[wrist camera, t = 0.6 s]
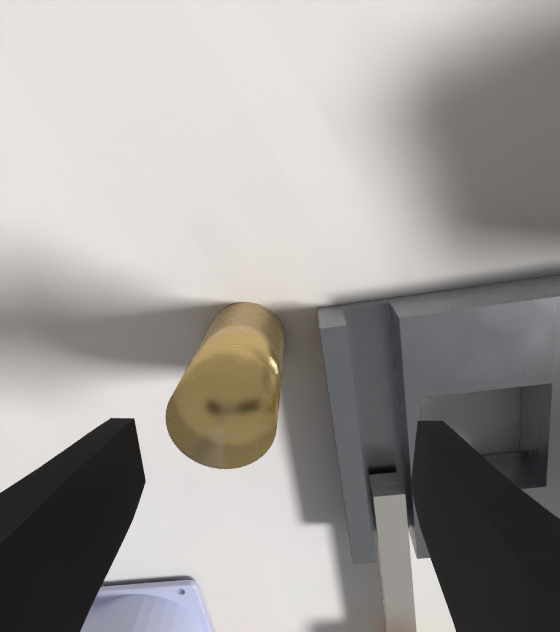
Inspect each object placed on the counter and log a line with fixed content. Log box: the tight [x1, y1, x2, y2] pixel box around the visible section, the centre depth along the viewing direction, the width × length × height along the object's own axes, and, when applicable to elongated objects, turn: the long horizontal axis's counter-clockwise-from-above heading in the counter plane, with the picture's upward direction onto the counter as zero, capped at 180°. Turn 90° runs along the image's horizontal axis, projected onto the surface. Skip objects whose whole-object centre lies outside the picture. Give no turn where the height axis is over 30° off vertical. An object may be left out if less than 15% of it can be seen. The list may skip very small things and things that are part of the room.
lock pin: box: [369, 472, 416, 632], centre depth 22 cm, size 2×14×4 cm, turn 10°
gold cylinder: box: [166, 302, 285, 469], centre depth 17 cm, size 4×4×7 cm
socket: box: [317, 275, 560, 564], centre depth 20 cm, size 13×13×2 cm
